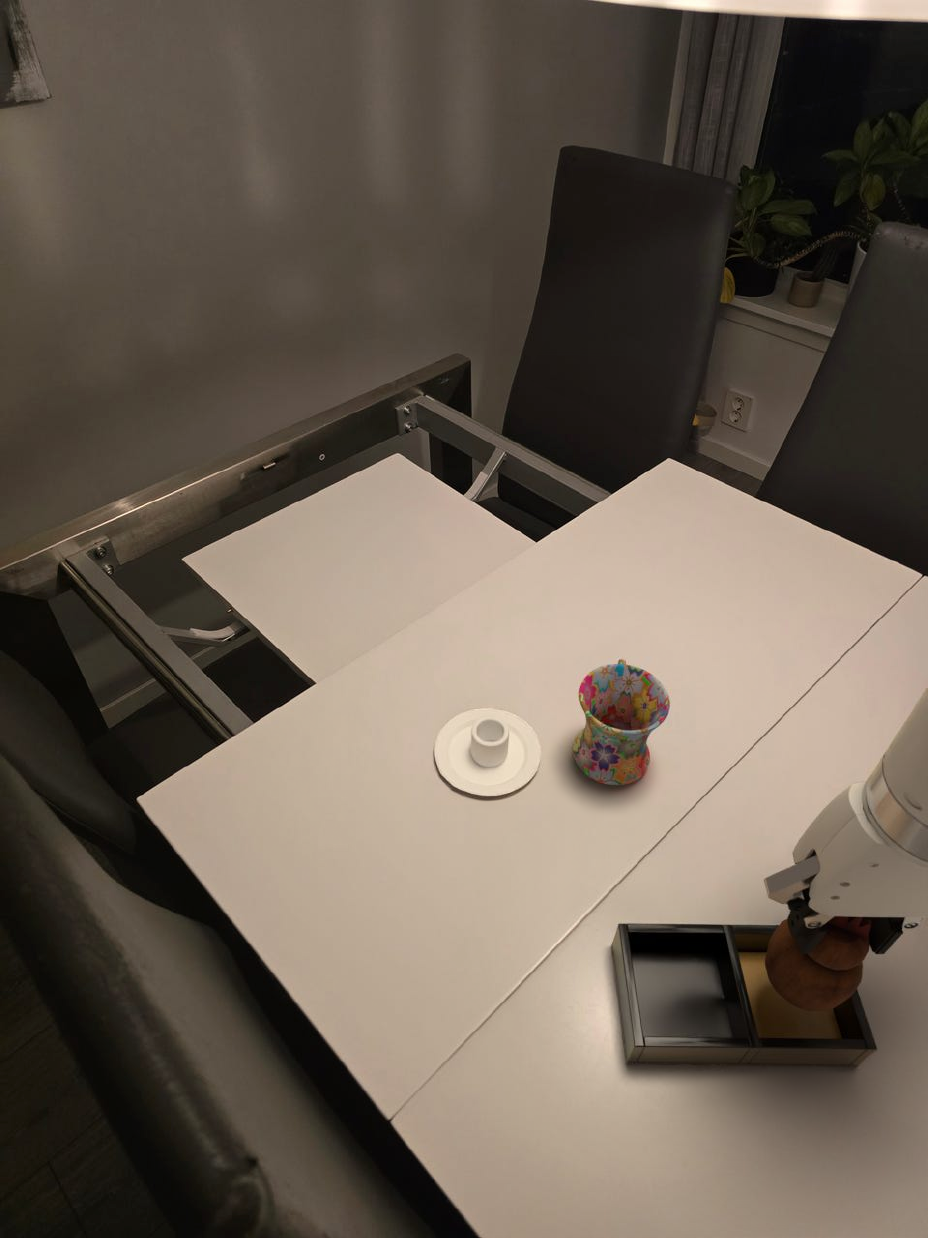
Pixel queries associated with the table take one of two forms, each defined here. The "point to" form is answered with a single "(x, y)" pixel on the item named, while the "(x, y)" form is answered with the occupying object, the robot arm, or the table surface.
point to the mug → (618, 722)
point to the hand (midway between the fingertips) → (835, 933)
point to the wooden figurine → (819, 964)
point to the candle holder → (487, 752)
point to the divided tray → (722, 1002)
